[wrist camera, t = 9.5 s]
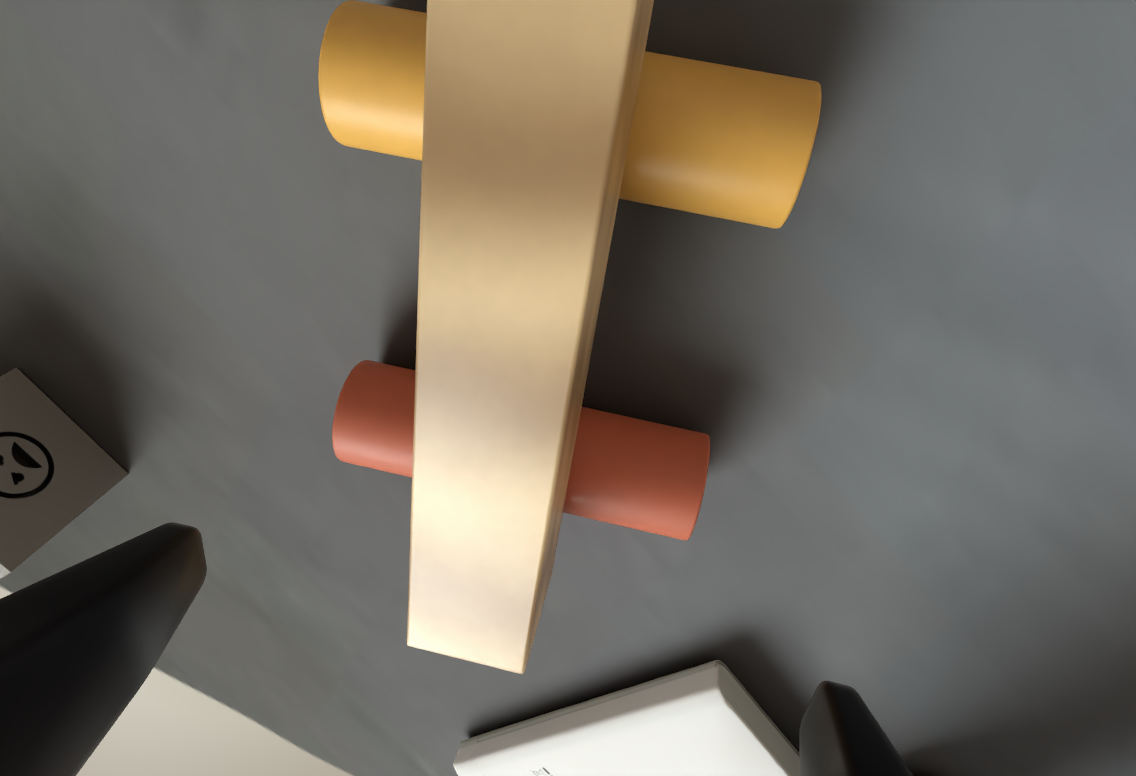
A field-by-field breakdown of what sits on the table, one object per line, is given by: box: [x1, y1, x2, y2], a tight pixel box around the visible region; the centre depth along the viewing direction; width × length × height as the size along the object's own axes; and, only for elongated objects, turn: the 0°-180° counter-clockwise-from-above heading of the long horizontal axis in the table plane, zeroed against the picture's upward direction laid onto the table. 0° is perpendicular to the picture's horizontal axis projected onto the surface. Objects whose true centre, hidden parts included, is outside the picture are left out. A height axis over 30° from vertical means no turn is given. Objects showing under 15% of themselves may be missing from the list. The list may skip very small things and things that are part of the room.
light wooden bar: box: [407, 0, 654, 674], centre depth 15 cm, size 15×3×4 cm, turn 172°
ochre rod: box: [319, 0, 821, 229], centre depth 15 cm, size 3×10×3 cm, turn 82°
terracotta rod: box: [332, 360, 710, 540], centre depth 20 cm, size 3×10×3 cm, turn 82°
